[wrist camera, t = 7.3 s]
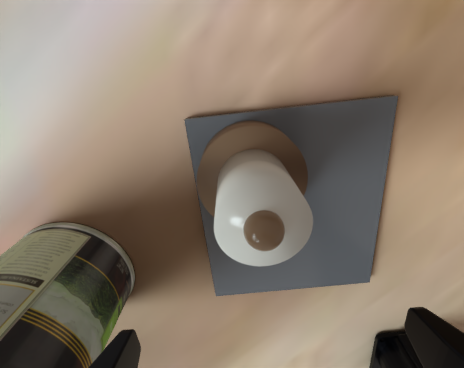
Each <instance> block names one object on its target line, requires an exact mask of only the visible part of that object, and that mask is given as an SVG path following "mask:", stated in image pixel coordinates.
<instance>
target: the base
mask: <svg viewBox="0 0 464 368" xmlns="http://www.w3.org/2000/svg"><path fill="white" fill-rule="evenodd" d="M249 149H259V150H264V151H267V152H269V153H271V154H273V155H274V156H276V157H277V158H278V159H279V160H280V161H281V162H282V164H283V165H284V167H285V168H286V170H287V171H288V173H289V174H290V176H291V178H292V179H293V181H294V182H295V184H296V185H297V187H298V188H299V190H300V192H301V193H302V195H303V196H304V194H305V192H306V188H307V183H308V170H307V165H306V162H305V159H304V157H303V155H302V153H301V151H300V150H299V149H298V147H297V146H296V145H295V144H294V143H293V142H292V141H291V140H290V139H289V138H288V137H287V136H286V135H285V134H284V133H283V132H282V131H281V130H279V129H278V128H276V127H274V126H273V125H270V124H268V123H265V122H261V121H253V120H250V121H241V122H236V123H233V124H231V125H229V126H226V127H225V128H223V129H222V130H220V131H219V132H218V133H216V134H215V135H214V136H213V138H212V139H211V140H210V141H209V143H208V144H207V146H206V148H205V150H204V152H203V155H202V158H201V161H200V165H199V168H198V172H197V190H198V194H199V197H200V199H201V202H202V203H203V205H204V207H205V208H206V210H207V211H208V212H209V213H210V214H211V215H212V216H213V217H214V216H215V205H216V195H217V184H218V176H219V173H220V170H221V168H222V166H223V165H224V163H225V162H226V161H227V160H228V159H229V158H230V157H232V156H233V155H235V154H236V153H239V152H241V151H244V150H249Z"/></svg>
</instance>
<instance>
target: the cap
mask: <svg viewBox="0 0 464 368" xmlns="http://www.w3.org/2000/svg"><path fill="white" fill-rule="evenodd" d="M312 227H313V216H312V211H311V209H310V206H309V204H308V203H307V201H306V199H305V198H304V196H303V195H302V193H301V192H300V190H299V188H298V187H297V185H296V184H295V182H294V181H293V179H292V178H291V176H290V174H289V173H288V171H287V170H286V168H285V167H284V165H283V164H282V162H281V161H280V160H279V159H278V158H277V157H276V156H274V155H273V154H271V153H269V152H267V151H264V150H259V149H249V150H244V151H241V152H239V153H236V154H235V155H233V156H232V157H230V158H229V159H228V160H227V161H226V162H225V163H224V165H223V166H222V168H221V170H220V173H219V176H218V184H217V195H216V205H215V216H214V234H215V238H216V240H217V243H218V245H219V246H220V248H221V249H222V250H223V251H224V252H225V253H226V254H227V255H228V256H229V257H231V258H232V259H234V260H236V261H237V262H240V263H242V264H246V265H251V266H270V265H275V264H278V263H281V262H284V261H286V260H288V259H290V258H291V257H293V256H294V255H295V254H297V253H298V252H299V251H300V250H301V249H302V248H303V247H304V245H305V244H306V243H307V241H308V239H309V237H310V235H311V232H312Z"/></svg>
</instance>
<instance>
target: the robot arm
mask: <svg viewBox="0 0 464 368" xmlns="http://www.w3.org/2000/svg"><path fill="white" fill-rule="evenodd" d="M140 352H141V346H140V343H139V340H138V337H137V335H136V332H135V330H133V329H130V330H122V331H121V332H119V333H118V335H117V336H116V337H115V338H114V339H113V340H112V341H111V342H110V344H109V345H108V346H107V347H106V348H105V349H104V350H103V351H102V353H101V354H100V355H99V356H98V357H97V358H96V359H95V360H94V362H93V363H92V364H91V365H90V366H89V367H88V368H138V363H139V357H140ZM370 368H464V333H463V332H461V331H460V330H458V329H457V328H455V327H454V326H452V325H451V324H449V323H448V322H446V321H444V320H443V319H441V318H440V317H438V316H437V315H435V314H434V313H432V312H431V311H429V310H428V309H426V308H424V307H413V308H410V309H409V310H408V313H407V317H406V321H405V331H404V332H392V333H381V334H378V335H376V337H375V341H374V347H373V352H372V357H371V363H370Z"/></svg>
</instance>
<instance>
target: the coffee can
mask: <svg viewBox="0 0 464 368" xmlns="http://www.w3.org/2000/svg"><path fill="white" fill-rule="evenodd" d="M134 282H135V273H134V268H133V265H132V262H131V260H130V258H129V256H128V255H127V254H126V252H125V251H124V250H123V248H122V247H121V246H120V245H119V244H118V243H117V242H115V241H114V240H113V239H112V238H110V237H109V236H107V235H106V234H104V233H102V232H100V231H98V230H96V229H94V228H91V227H88V226H85V225H81V224H76V223H65V222H59V223H50V224H45V225H42V226H39V227H37V228H35V229H33V230H31V231H30V232H29V233H27V234H26V235H25V236H24V237H23V238H22V239H21V240H20V241H19V242H17V243H16V244H15V245H13V246H12V247H11V248H9V249H8V250H7V251H6V252H4V253H3V254H2V255H1V256H0V368H88V367H89V366H90V365H91V364H92V363H93V362H94V360H95V359H96V358H97V357H98V356H99V355H100V354H101V353H102V351H103V350H104V348H105V346H106V343H107V341H108V339H109V337H110V335H111V333H112V330H113V328H114V326H115V324H116V322H117V320H118V317H119V315H120V313H121V311H122V309H123V307H124V305H125V302H126V300H127V298H128V297H129V295H130V294H131V291H132V289H133V287H134Z"/></svg>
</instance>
